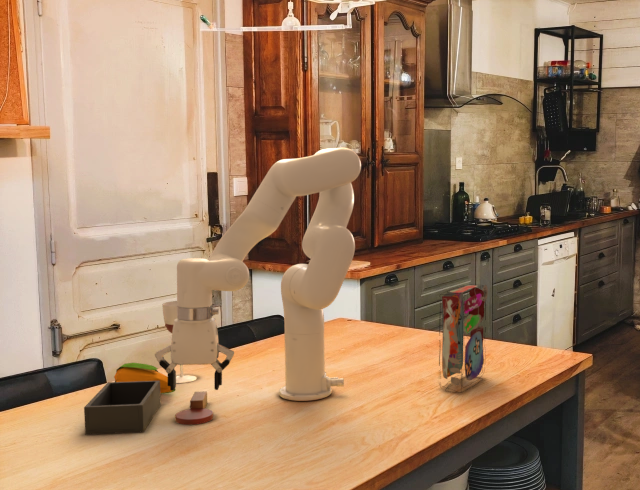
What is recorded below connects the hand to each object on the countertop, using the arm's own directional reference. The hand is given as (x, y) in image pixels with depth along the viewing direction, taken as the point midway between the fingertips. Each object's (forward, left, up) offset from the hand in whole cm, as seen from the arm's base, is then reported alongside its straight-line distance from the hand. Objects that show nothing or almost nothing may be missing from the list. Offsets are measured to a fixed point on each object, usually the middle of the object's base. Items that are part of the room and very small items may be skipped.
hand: (195, 388), depth 175 cm
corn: (+13, -15, -5) cm, 21 cm away
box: (-66, -16, -5) cm, 69 cm away
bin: (+14, +4, -5) cm, 16 cm away
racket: (-1, +3, -5) cm, 6 cm away
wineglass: (+7, -28, -5) cm, 29 cm away
